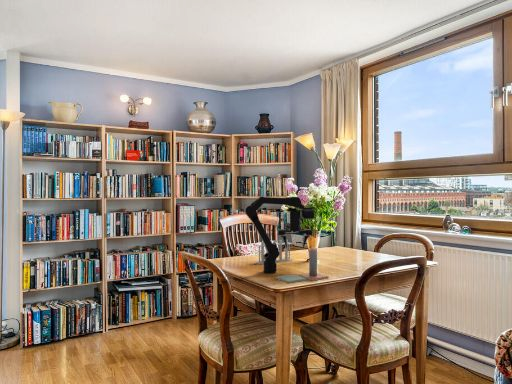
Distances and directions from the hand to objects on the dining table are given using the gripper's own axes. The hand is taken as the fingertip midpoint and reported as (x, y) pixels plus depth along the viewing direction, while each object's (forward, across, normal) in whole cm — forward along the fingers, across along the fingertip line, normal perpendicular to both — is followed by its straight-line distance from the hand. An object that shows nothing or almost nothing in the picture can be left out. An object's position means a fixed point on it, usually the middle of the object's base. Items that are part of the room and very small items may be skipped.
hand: (294, 247), depth 218 cm
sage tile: (+13, +4, +19) cm, 23 cm away
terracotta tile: (+13, -8, +14) cm, 21 cm away
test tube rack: (+13, +10, -29) cm, 33 cm away
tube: (+12, -8, +14) cm, 20 cm away
